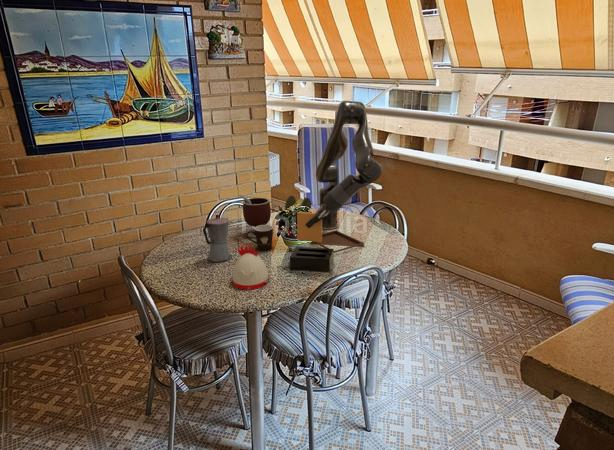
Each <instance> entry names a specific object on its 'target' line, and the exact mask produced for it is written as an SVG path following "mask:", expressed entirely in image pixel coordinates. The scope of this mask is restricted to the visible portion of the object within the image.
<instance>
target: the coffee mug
mask: <svg viewBox="0 0 614 450" xmlns="http://www.w3.org/2000/svg"><path fill="white" fill-rule="evenodd" d="M253 229H254V230H255V232H253V231H249V232H248V233H253V234H254V235H255V236H256V238H255V240H253V239H251V237H249V236H247V235H248V233H247V235H246V234H245V235H246V238H247V239H248V240H249V241H250V242H252V243H254V244H255V245H257V251H259V252H260V251H261V252H268V251H271V250H272V249H273V235H274V234H273V233H274V226H273V225H271V224H266V225H259V226H256V227H254V228H253Z"/></svg>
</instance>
